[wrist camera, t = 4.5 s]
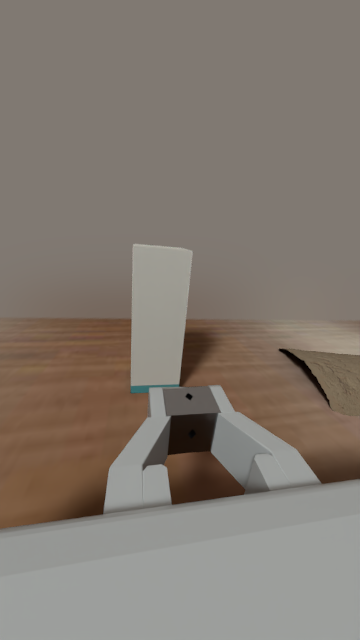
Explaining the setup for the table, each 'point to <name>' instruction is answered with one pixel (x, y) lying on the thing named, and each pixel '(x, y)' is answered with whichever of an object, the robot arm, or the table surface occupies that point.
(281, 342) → the table surface
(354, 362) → the clay tablet
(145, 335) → the block
